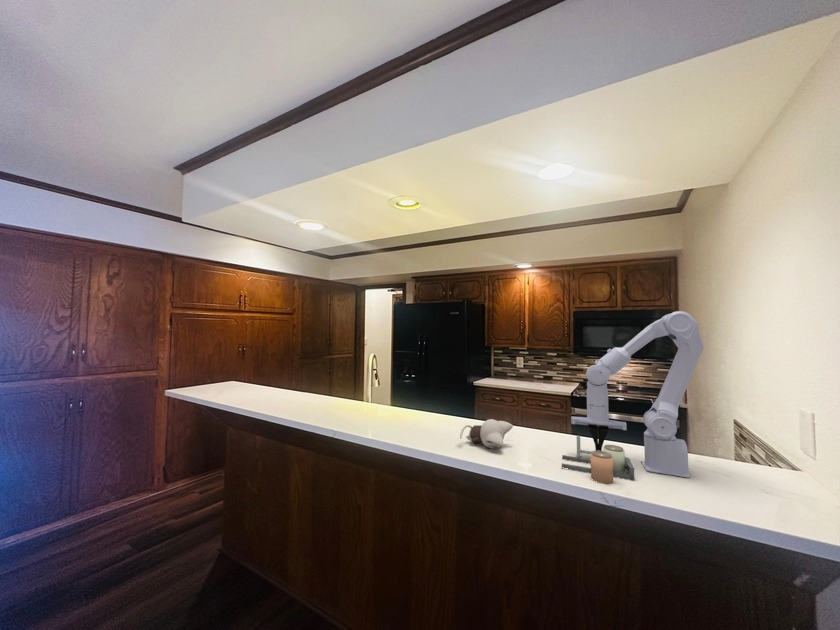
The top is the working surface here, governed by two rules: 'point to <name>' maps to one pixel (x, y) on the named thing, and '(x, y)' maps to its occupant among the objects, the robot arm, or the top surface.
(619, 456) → the jar
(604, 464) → the jar
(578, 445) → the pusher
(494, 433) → the toy
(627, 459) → the lane
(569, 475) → the top surface
